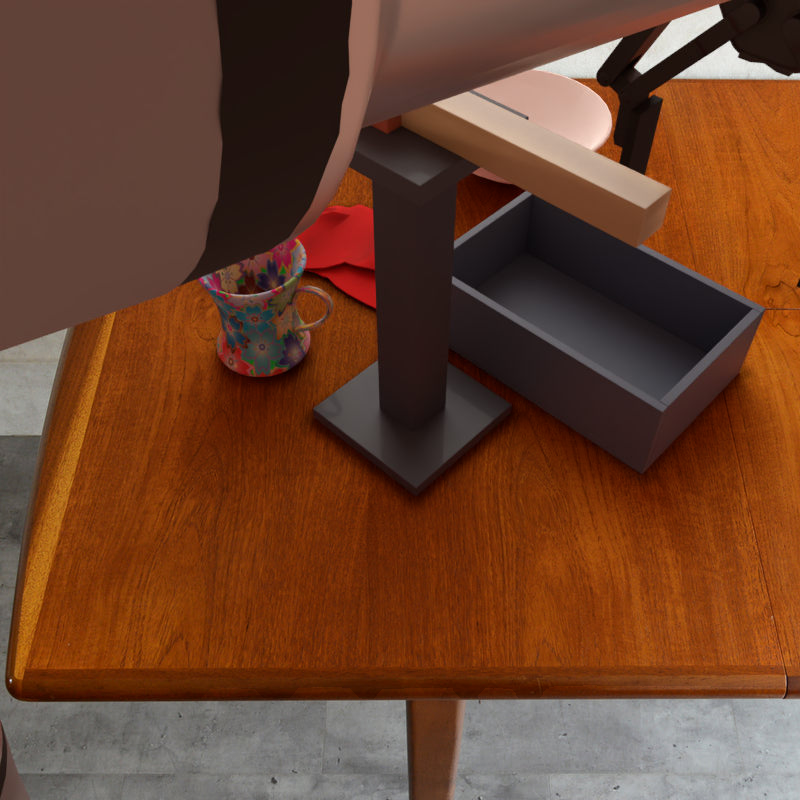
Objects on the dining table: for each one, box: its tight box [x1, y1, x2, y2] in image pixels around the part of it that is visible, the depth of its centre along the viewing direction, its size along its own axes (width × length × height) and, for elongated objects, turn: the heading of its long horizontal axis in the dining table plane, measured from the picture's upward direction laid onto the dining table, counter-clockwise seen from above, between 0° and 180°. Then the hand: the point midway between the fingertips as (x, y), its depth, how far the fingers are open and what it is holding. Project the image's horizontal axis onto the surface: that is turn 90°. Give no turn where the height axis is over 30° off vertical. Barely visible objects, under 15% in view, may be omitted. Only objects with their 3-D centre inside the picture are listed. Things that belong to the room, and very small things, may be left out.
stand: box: [312, 90, 529, 497], centre depth 66 cm, size 12×12×28 cm
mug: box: [196, 238, 334, 378], centre depth 78 cm, size 12×9×11 cm
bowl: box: [472, 68, 613, 185], centre depth 99 cm, size 20×20×6 cm
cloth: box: [296, 203, 376, 310], centre depth 91 cm, size 26×14×2 cm, turn 63°
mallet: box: [371, 92, 673, 248], centre depth 51 cm, size 5×22×4 cm, turn 46°
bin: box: [449, 190, 767, 475], centre depth 79 cm, size 16×25×8 cm, turn 46°
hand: (714, 232), depth 59 cm, fingers open, 13 cm apart
